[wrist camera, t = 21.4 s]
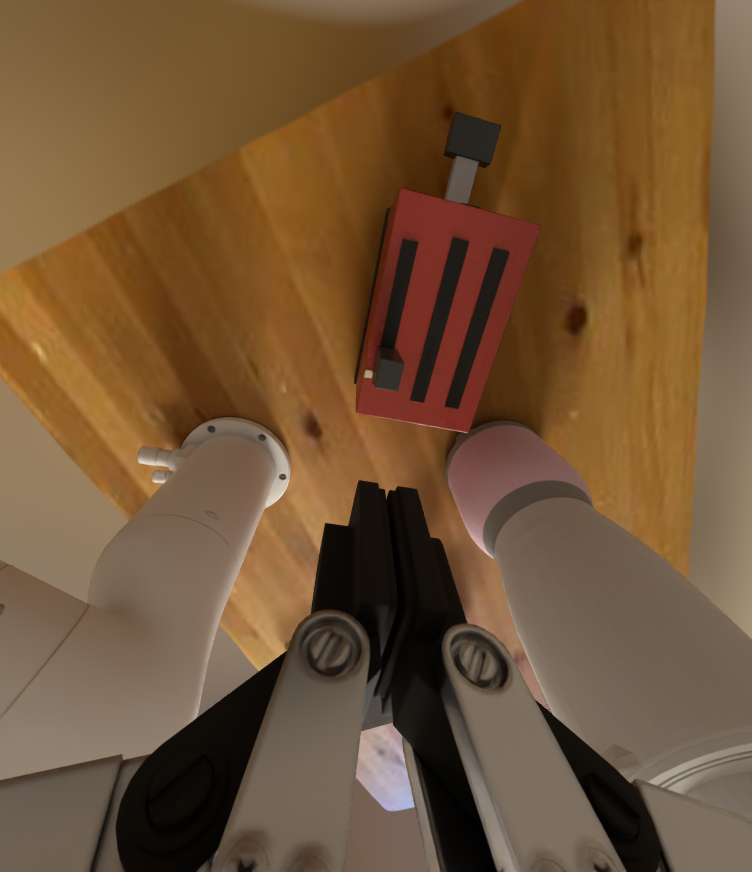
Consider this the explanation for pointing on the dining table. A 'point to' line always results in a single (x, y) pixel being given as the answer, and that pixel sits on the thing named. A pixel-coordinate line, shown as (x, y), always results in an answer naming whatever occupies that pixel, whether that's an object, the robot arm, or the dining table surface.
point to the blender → (609, 622)
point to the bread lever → (468, 153)
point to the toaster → (440, 306)
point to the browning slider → (387, 369)
